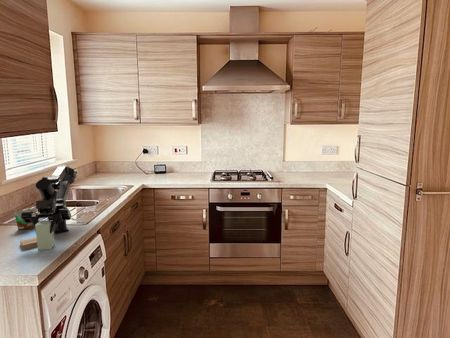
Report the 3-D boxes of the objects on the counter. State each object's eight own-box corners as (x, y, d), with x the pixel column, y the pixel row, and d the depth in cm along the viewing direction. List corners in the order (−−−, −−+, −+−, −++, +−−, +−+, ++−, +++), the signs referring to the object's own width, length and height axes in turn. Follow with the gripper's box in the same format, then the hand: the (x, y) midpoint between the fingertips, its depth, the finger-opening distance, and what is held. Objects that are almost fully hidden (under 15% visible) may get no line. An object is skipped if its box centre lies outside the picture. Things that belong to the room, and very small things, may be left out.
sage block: (42, 245, 141) (39, 221, 139) (54, 244, 142) (51, 220, 140) (37, 250, 136) (35, 225, 134) (50, 248, 137) (48, 224, 135)
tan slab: (20, 245, 142) (20, 240, 142) (38, 242, 146) (38, 236, 146) (22, 250, 137) (21, 245, 136) (41, 246, 141) (40, 241, 140)
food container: (26, 231, 159) (24, 212, 157) (15, 231, 160) (13, 211, 158) (44, 223, 171) (42, 205, 169) (34, 223, 172) (32, 204, 170)
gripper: (19, 193, 137) (11, 227, 128) (66, 190, 141) (62, 223, 132) (28, 206, 146) (21, 238, 137) (73, 203, 150) (69, 234, 141)
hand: (43, 233), depth 136 cm, fingers closed on sage block, 5 cm apart
